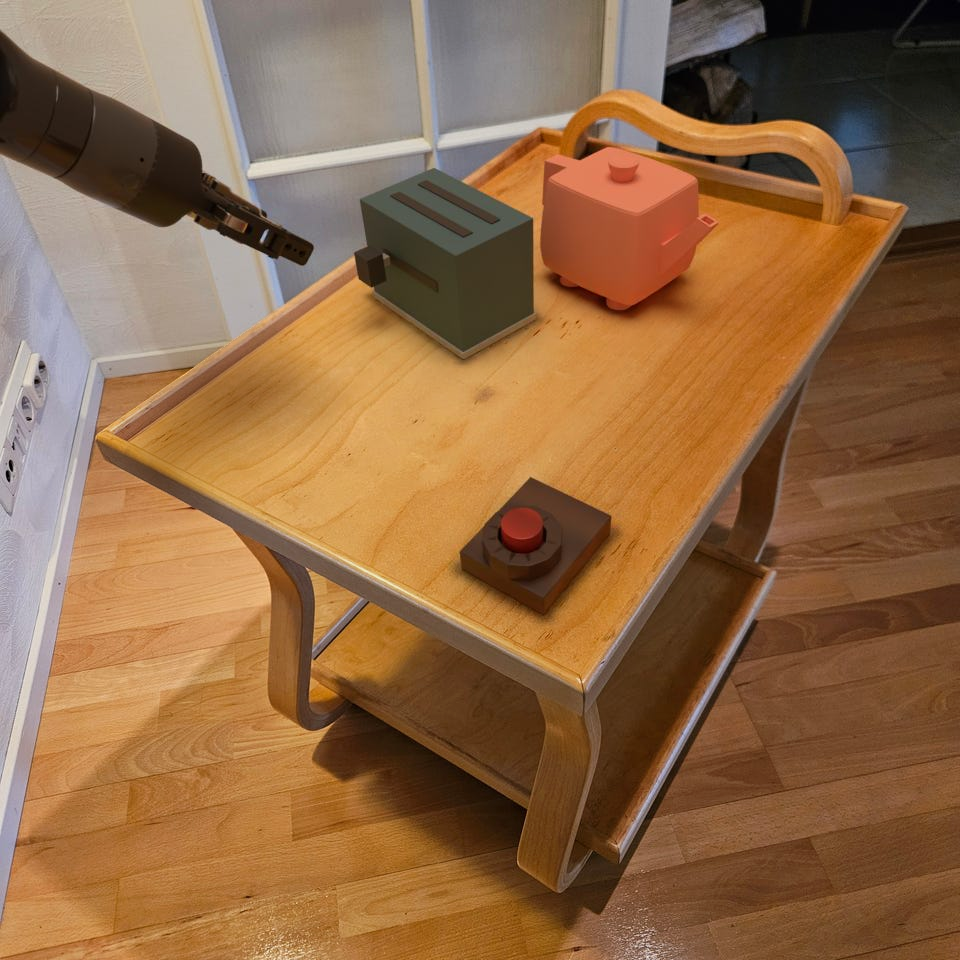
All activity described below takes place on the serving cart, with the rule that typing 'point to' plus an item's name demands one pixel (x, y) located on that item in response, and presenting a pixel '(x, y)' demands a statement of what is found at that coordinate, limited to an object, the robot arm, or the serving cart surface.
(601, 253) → the teapot
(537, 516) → the power button
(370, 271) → the slider
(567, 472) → the serving cart surface
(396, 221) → the toaster
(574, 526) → the switch block
